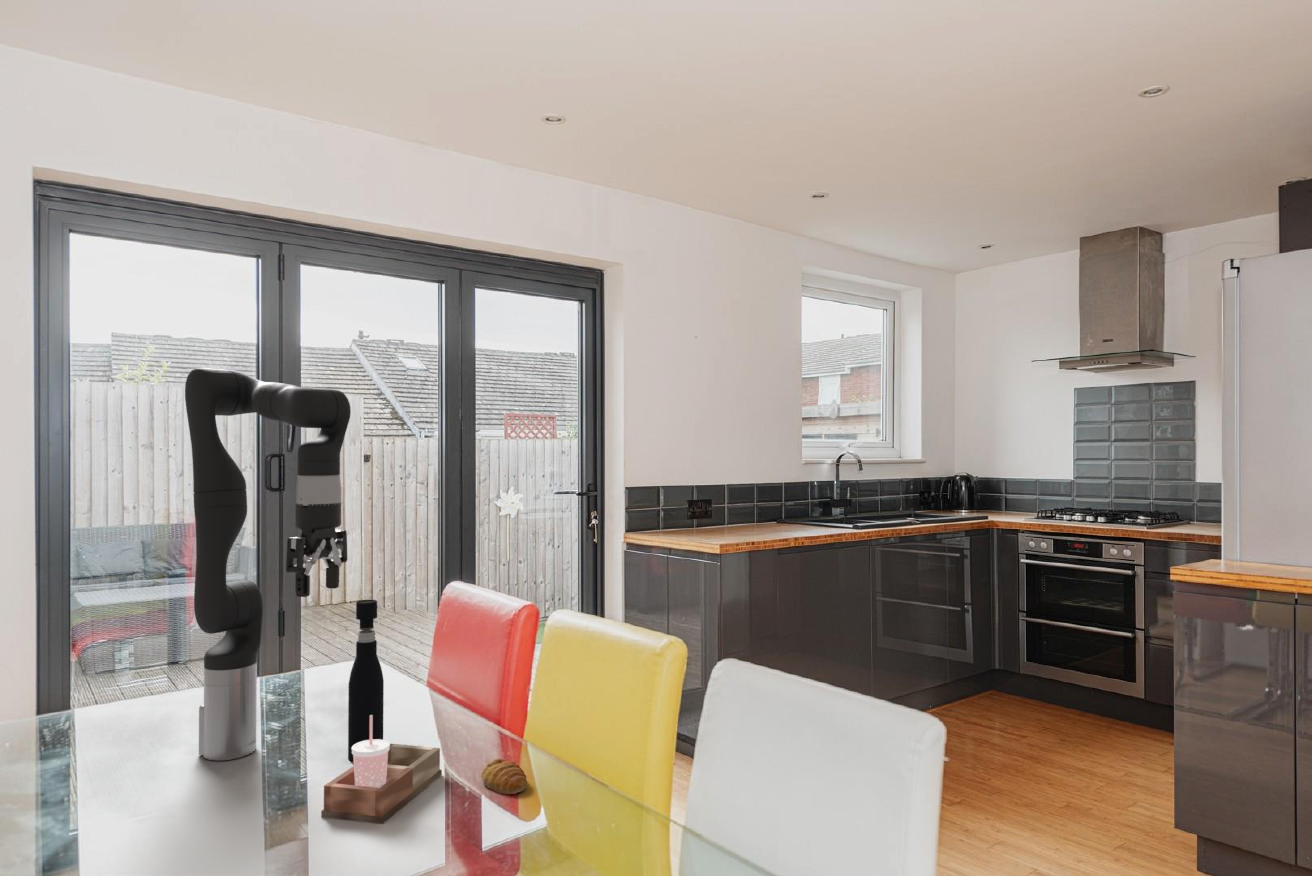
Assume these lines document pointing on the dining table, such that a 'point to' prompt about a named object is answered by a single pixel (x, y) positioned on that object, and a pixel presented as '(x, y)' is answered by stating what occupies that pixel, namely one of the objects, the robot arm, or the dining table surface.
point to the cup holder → (403, 783)
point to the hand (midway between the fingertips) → (317, 592)
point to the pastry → (504, 777)
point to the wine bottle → (365, 681)
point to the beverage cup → (370, 761)
